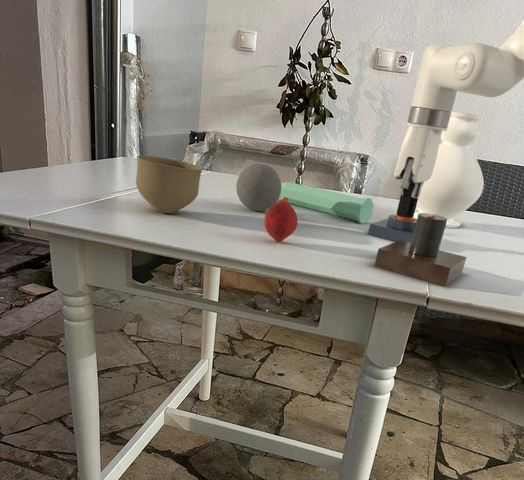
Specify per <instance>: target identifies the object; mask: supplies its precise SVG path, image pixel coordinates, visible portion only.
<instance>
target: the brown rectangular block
mask: <svg viewBox="0 0 524 480" xmlns="http://www.w3.org/2000/svg"><path fill="white" fill-rule="evenodd" d="M410 245H411V243H409V242H405V241H401V240H399V241H393V242H391V243H389V244H388V245H385V246H382V247H380V248H378V249H377V254H376V257H375V261H374V267H376V268H378V269H381V270H382V269H383V270H385V271H388V272H389V271H390V272H394V273H396V274H400V275H404V276H407V277H411V278H413V279H416V280H417V279H418V280H422V281H425V282H428V283H431V284H435V285H439V286H443V287H447V286H448V285H449V284H450V283H452V282H453V281H455V279H457V278H458V277H460V276H461V275H462V273H463V271H464V267H465V264H466V261H467V256H464V255H460V254H457V253H452V252H447V251H444V250H441V249H439V251H438V255H437V256H435V257H427V256H421V255H417V254H414V253H412V252H410V251H409V249H410Z"/></svg>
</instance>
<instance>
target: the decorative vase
mask: <svg viewBox="0 0 524 480" xmlns="http://www.w3.org/2000/svg"><path fill="white" fill-rule="evenodd" d="M479 120H481V115H478V114H473V113H464V112H457V111H456V112H455V111H452V112H451V116H450V119H449V123H448V127H447V131H442V133H441V138H440V140H441V141H442V142H440V144H439V148H438V153H437V157H436V161H435V165H434V169H433V172H432V175H431V178H430V179H429V180H427V181H425V182H424V184H423V186H422V188H421V191H420V194H419V197H418V201H417V205H416V210H417V212H415V213H414V216H413V218H416V219H417V217H418V214H419V213H428V214H434V215H439V216H442V217H445V218H447V222H446V226H445V228H460V227H461V225H462V223H461V221H459V220H457V219H456V218H457V217H459V216H460V215H462V214H463V213H464V212H465V211H467V210H468V209H470V207H472V206H473V205H474V204H475V203H476V202H477V201H478V200H479V199H480V197H481V195H482V193H483V191H484V184H485V183H484V182H485V181H484V175H483V172H482V168H481V166H480V163H479V161H478V159H477V158H476V156H475V154H474V152H473V151H472V149H471V147H470V145H472V144H473V143H475V142H476V141H478V139H479V138H480V137H481V131H480V128H479V127H478V125H477V124H476V121H479ZM415 198H417V197H415Z"/></svg>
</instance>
